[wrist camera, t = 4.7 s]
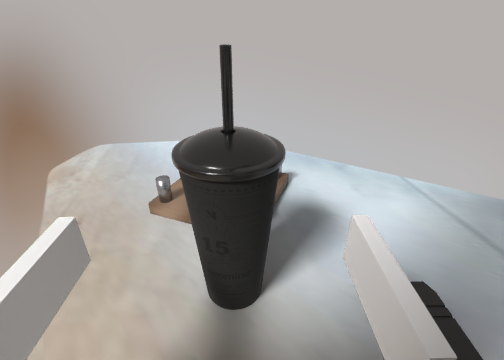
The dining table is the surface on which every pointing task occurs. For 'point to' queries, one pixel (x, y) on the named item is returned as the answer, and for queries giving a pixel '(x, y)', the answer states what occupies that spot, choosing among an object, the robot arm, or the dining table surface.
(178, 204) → the peg board
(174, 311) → the dining table surface
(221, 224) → the drinking cup
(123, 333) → the dining table surface
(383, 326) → the robot arm
